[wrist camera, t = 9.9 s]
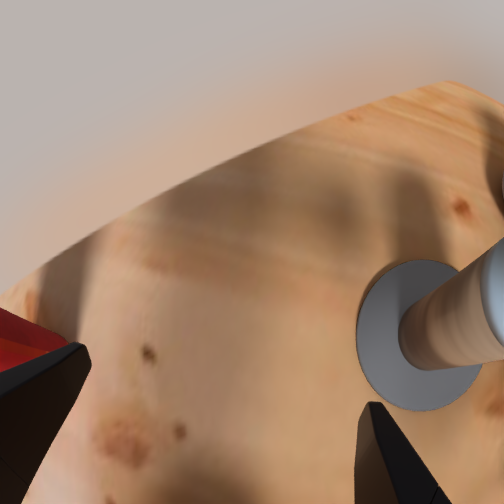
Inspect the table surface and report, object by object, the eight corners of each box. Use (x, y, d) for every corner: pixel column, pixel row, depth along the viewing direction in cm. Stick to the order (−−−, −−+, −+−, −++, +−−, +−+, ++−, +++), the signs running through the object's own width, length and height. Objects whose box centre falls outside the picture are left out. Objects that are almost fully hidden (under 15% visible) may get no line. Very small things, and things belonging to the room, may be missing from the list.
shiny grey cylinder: (441, 382, 18) (552, 370, 7) (385, 350, 20) (477, 317, 9) (467, 319, 20) (569, 266, 9) (415, 286, 22) (502, 209, 11)
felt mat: (439, 435, 17) (443, 436, 17) (323, 357, 21) (324, 356, 20) (500, 311, 20) (504, 309, 20) (402, 235, 24) (404, 232, 23)
